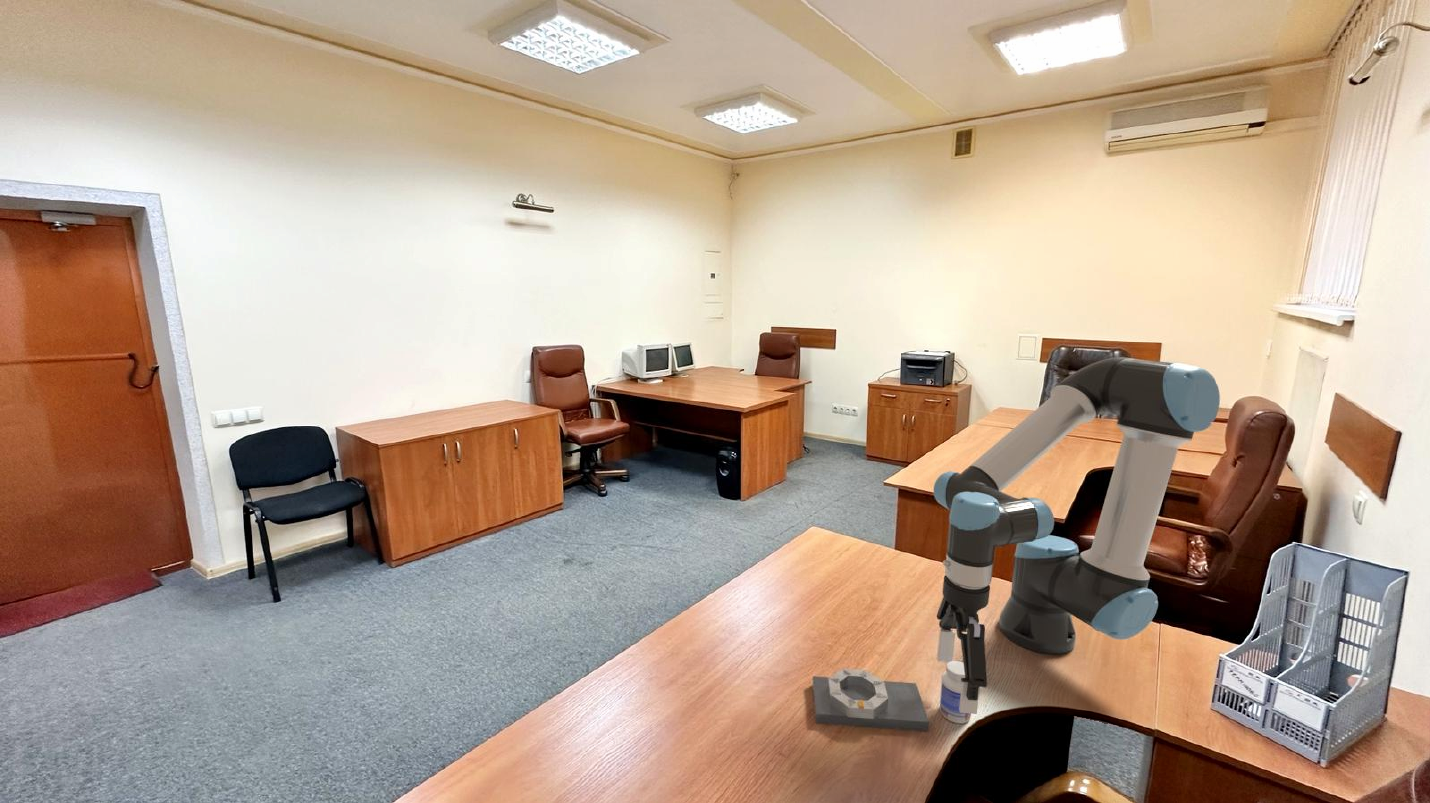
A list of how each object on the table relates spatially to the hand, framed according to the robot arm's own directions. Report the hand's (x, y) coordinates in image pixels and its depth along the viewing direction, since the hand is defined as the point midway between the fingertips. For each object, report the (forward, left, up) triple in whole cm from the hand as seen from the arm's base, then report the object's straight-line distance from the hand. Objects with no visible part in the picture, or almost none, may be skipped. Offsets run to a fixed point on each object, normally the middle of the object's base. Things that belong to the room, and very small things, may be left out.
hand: (955, 684), depth 103 cm
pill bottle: (0, 0, -6) cm, 6 cm away
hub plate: (+16, 0, -6) cm, 17 cm away
